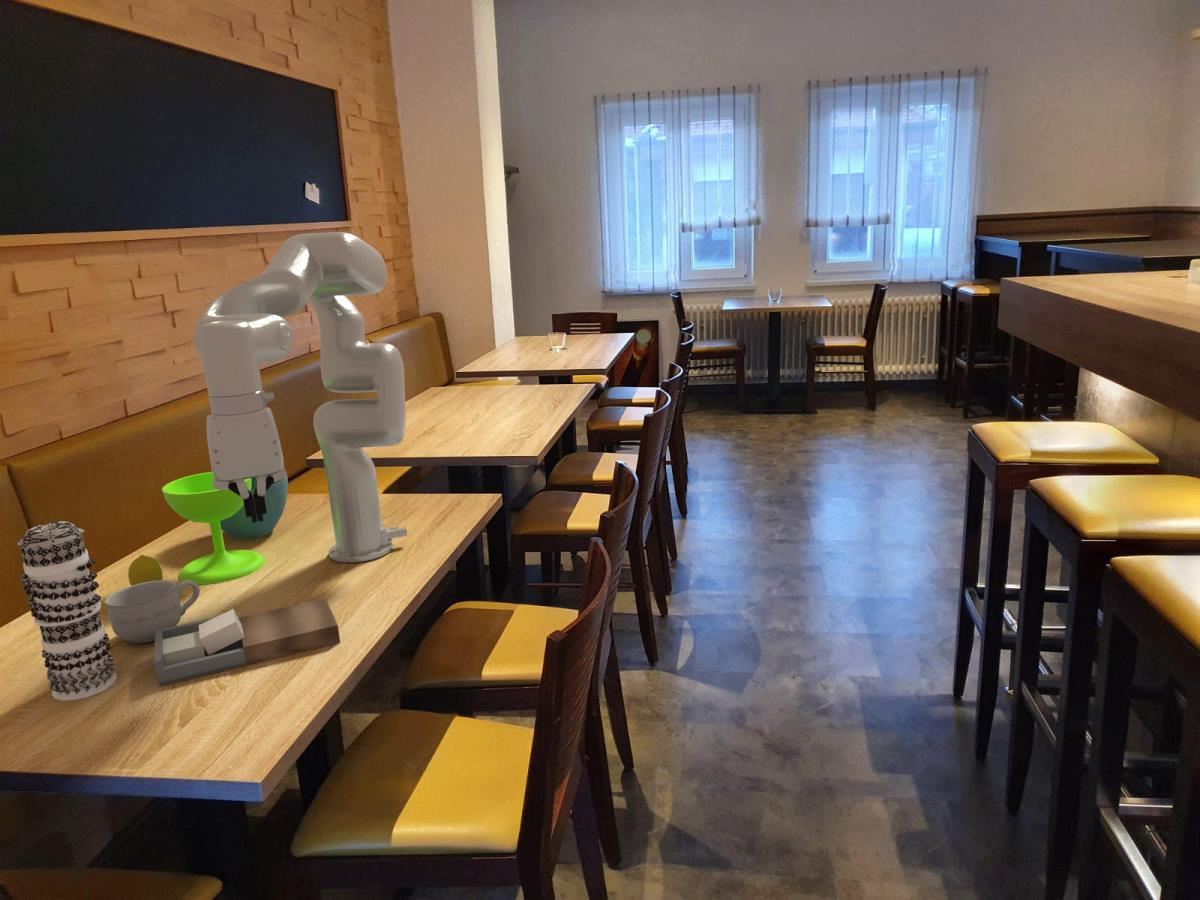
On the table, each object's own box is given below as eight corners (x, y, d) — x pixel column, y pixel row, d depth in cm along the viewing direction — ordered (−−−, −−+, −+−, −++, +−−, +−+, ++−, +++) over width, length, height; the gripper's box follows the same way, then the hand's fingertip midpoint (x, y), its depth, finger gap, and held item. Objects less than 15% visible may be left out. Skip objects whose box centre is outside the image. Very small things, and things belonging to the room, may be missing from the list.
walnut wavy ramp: (328, 614, 147) (325, 598, 146) (340, 642, 137) (337, 624, 136) (240, 634, 141) (237, 617, 141) (246, 665, 131) (243, 647, 130)
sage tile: (204, 648, 136) (201, 630, 135) (206, 662, 131) (202, 644, 130) (166, 657, 134) (162, 639, 133) (166, 672, 129) (162, 654, 128)
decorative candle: (97, 665, 134) (63, 513, 127) (133, 677, 129) (99, 520, 123) (36, 693, 126) (-4, 533, 120) (71, 707, 121) (32, 542, 115)
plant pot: (190, 541, 188) (180, 488, 185) (260, 516, 203) (252, 466, 200) (242, 553, 179) (233, 497, 175) (312, 526, 193) (304, 474, 190)
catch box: (240, 634, 141) (236, 612, 140) (246, 665, 131) (242, 641, 130) (160, 653, 136) (155, 630, 135) (159, 686, 126) (154, 662, 125)
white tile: (241, 624, 138) (233, 608, 137) (244, 637, 133) (235, 621, 132) (207, 640, 136) (198, 625, 135) (208, 655, 131) (199, 639, 130)
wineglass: (281, 554, 177) (268, 470, 172) (232, 586, 162) (216, 495, 157) (214, 552, 181) (199, 470, 176) (160, 582, 166) (142, 493, 161)
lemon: (152, 602, 157) (144, 561, 154) (126, 601, 158) (117, 560, 156) (172, 589, 162) (164, 550, 160) (147, 588, 163) (139, 549, 161)
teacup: (112, 656, 136) (102, 610, 134) (114, 630, 146) (105, 587, 144) (207, 634, 142) (199, 589, 140) (203, 610, 152) (195, 568, 150)
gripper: (287, 393, 135) (303, 504, 140) (182, 407, 129) (204, 522, 133) (293, 401, 128) (310, 517, 133) (183, 415, 122) (205, 536, 127)
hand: (257, 519), depth 133 cm, fingers closed
